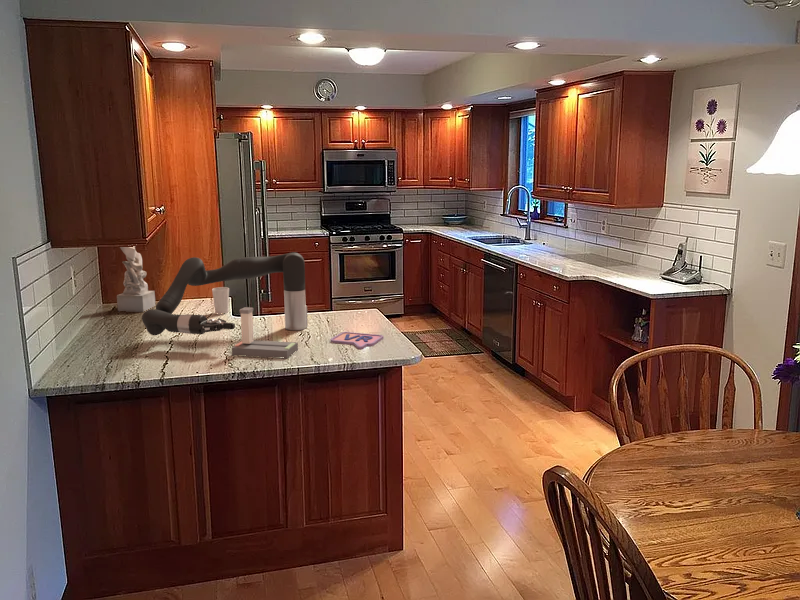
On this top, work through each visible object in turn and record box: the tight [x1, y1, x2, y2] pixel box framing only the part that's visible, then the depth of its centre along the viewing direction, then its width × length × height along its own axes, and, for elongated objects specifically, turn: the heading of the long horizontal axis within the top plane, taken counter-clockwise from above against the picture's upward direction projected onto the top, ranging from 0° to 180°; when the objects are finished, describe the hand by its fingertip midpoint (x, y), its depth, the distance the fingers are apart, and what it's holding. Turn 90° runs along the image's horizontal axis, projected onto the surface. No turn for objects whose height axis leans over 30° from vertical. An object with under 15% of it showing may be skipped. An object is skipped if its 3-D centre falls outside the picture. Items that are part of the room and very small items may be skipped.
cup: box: [211, 286, 230, 315], centre depth 323 cm, size 8×8×12 cm
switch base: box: [231, 339, 299, 359], centre depth 257 cm, size 12×22×3 cm, turn 79°
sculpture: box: [116, 246, 157, 313], centre depth 330 cm, size 13×13×35 cm
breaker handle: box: [239, 306, 255, 344], centre depth 256 cm, size 5×4×13 cm
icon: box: [329, 331, 384, 350], centre depth 273 cm, size 19×2×20 cm
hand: (233, 326), depth 257 cm, fingers closed
